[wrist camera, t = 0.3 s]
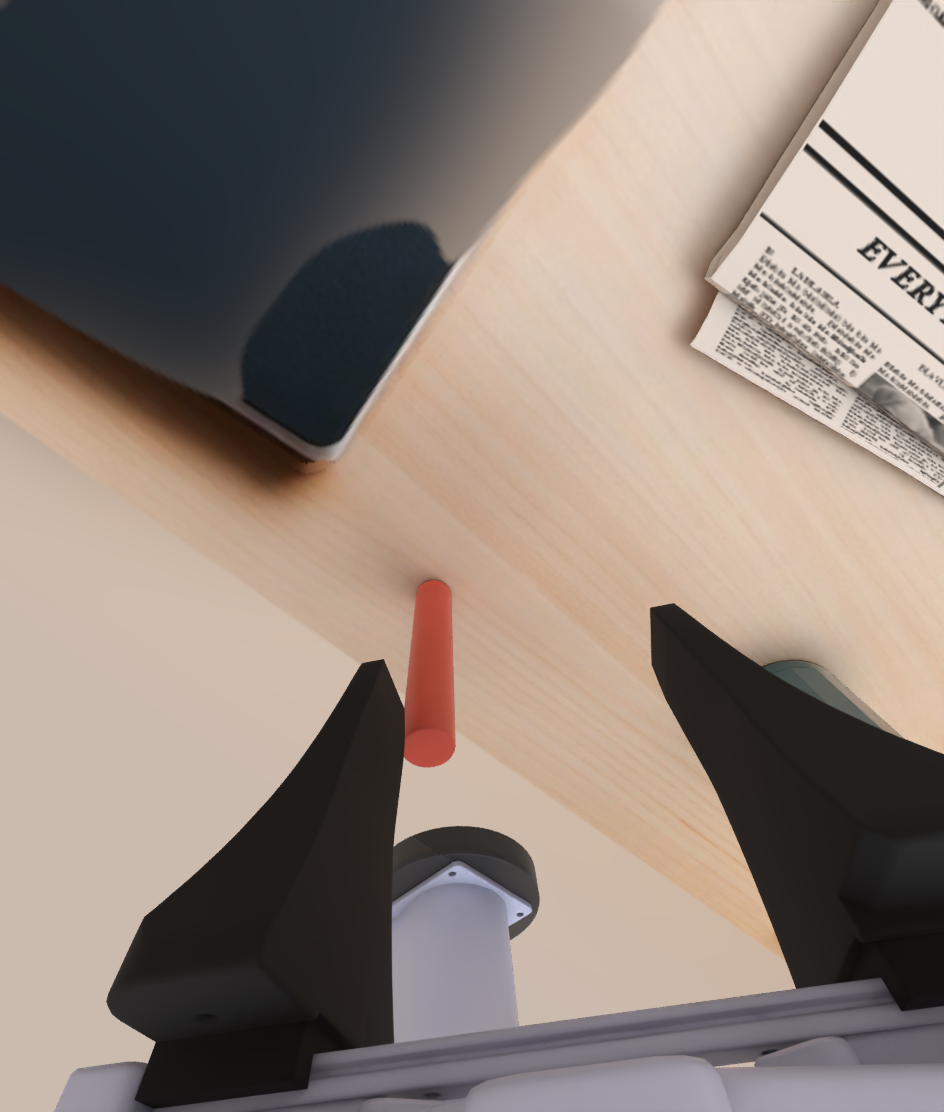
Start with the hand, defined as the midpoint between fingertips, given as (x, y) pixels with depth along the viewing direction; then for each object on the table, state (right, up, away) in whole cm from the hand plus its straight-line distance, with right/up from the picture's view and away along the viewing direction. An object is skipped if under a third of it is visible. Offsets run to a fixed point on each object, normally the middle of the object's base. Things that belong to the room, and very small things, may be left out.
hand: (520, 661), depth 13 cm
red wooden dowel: (-3, +1, +9) cm, 10 cm away
